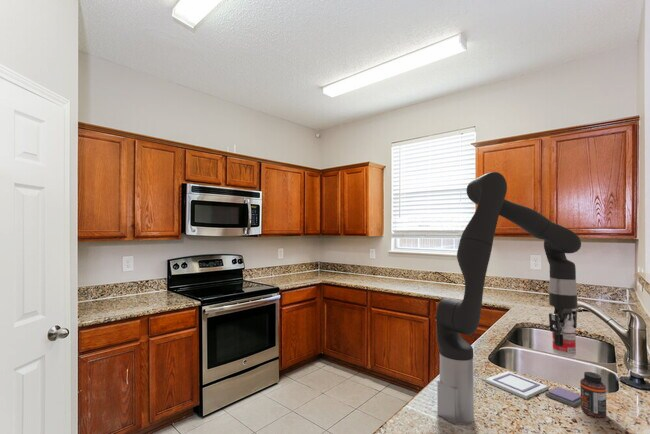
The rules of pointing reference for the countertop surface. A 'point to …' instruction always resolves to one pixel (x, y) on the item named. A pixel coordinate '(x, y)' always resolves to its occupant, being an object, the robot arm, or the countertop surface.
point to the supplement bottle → (593, 395)
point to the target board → (516, 384)
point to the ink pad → (564, 396)
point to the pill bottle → (566, 341)
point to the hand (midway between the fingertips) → (563, 343)
